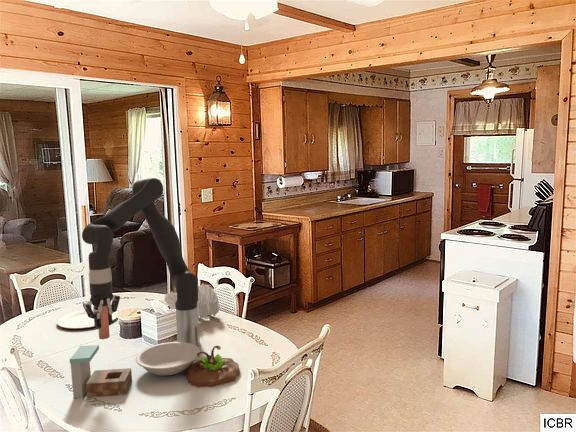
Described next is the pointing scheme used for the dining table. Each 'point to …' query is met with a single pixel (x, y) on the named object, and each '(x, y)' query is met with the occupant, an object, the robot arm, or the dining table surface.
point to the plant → (212, 370)
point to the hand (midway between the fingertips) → (103, 326)
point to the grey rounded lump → (199, 301)
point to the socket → (109, 382)
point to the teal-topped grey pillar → (81, 368)
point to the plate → (79, 320)
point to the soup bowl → (167, 357)
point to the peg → (104, 323)
